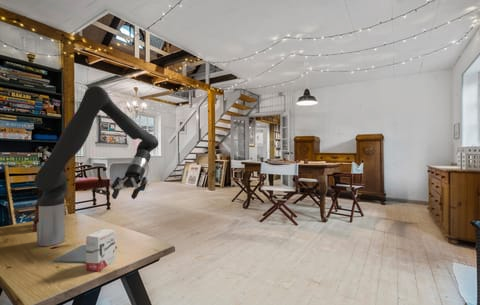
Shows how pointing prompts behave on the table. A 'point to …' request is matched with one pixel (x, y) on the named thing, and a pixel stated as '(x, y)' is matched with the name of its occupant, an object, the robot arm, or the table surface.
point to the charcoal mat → (74, 255)
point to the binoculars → (37, 212)
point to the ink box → (100, 249)
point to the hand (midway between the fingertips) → (123, 197)
